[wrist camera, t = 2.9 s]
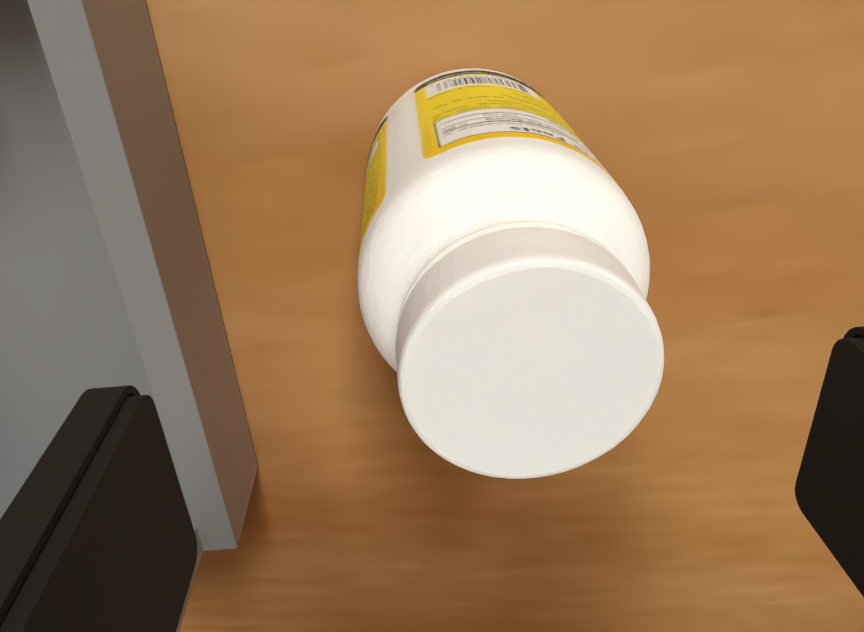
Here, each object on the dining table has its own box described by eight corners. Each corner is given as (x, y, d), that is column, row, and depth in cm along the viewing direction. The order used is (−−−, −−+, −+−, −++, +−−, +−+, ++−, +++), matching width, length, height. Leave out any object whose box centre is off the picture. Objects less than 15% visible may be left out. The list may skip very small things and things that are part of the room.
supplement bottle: (452, 293, 20) (490, 560, 12) (326, 156, 18) (262, 366, 10) (607, 180, 19) (775, 396, 10) (488, 15, 17) (582, 119, 8)
